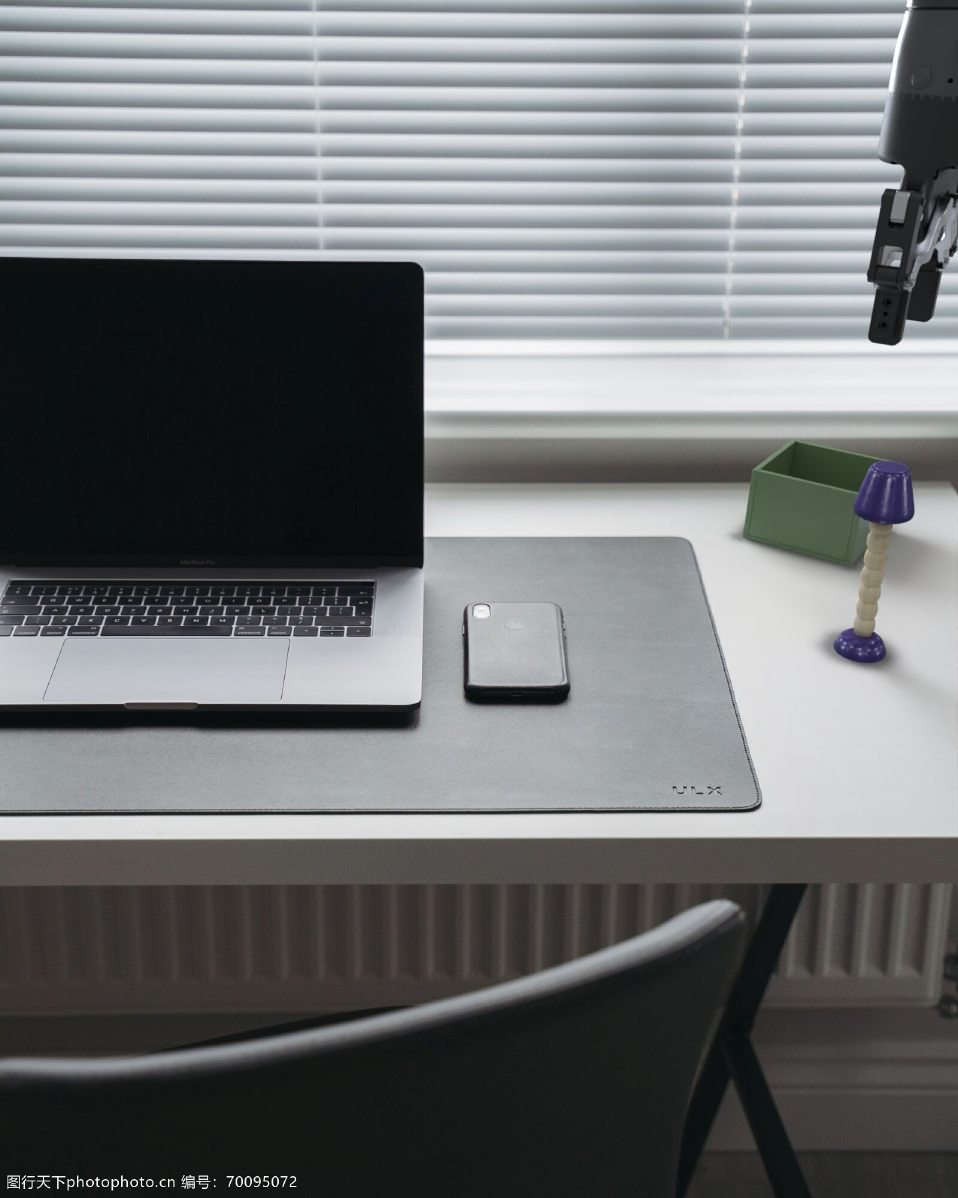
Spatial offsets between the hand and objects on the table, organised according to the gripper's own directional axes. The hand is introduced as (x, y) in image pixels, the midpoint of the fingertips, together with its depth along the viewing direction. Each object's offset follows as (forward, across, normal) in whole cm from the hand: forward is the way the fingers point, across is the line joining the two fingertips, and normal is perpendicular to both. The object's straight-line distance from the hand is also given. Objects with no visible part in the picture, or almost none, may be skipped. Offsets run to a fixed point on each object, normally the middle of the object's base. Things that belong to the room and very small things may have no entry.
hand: (900, 331), depth 81 cm
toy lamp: (+28, +1, -1) cm, 28 cm away
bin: (+27, +22, +10) cm, 36 cm away
